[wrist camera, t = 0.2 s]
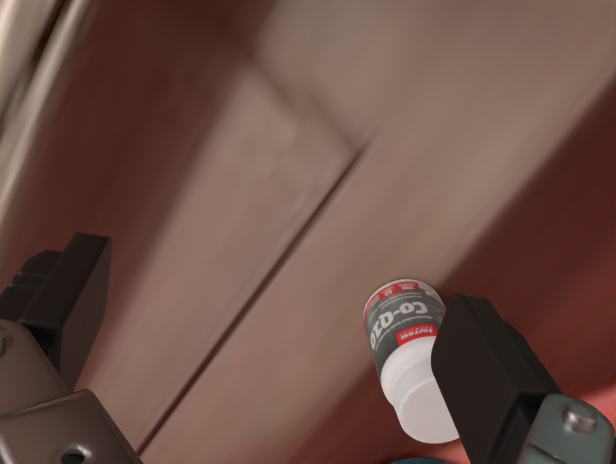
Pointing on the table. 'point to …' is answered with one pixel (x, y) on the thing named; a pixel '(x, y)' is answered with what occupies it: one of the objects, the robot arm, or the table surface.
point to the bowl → (420, 461)
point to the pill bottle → (409, 356)
